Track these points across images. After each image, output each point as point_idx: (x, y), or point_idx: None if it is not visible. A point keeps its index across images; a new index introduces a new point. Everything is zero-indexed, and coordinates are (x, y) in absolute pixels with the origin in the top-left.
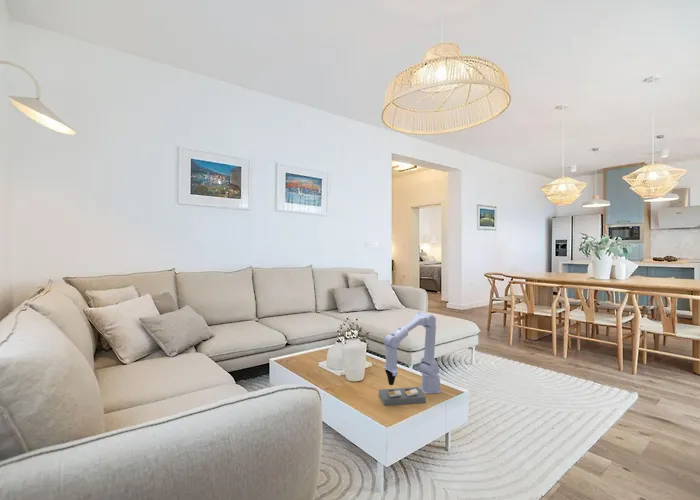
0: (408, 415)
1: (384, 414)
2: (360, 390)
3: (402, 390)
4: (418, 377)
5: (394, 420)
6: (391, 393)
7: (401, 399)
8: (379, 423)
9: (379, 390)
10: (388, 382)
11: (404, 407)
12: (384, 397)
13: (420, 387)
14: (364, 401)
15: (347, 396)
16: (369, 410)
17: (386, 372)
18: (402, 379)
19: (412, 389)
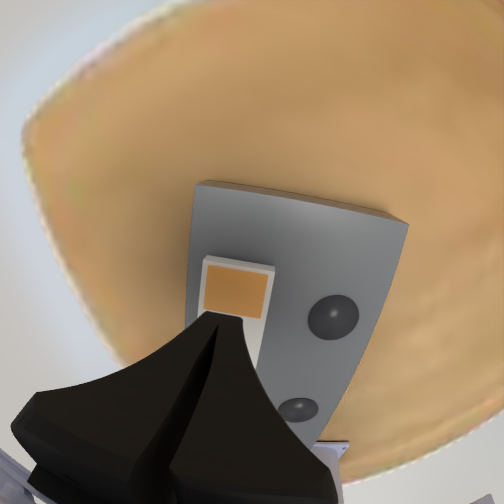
0: (81, 279)
1: (104, 143)
2: (480, 126)
3: (310, 384)
4: (423, 448)
5: (48, 184)
6: (224, 283)
7: (186, 324)
8: (45, 98)
9: (389, 220)
10: (240, 325)
11: (161, 304)
12: (238, 204)
13: (343, 446)
14: (325, 62)
15: (418, 8)
16: (178, 56)
17: (73, 444)
18: (456, 402)
19: (296, 428)
